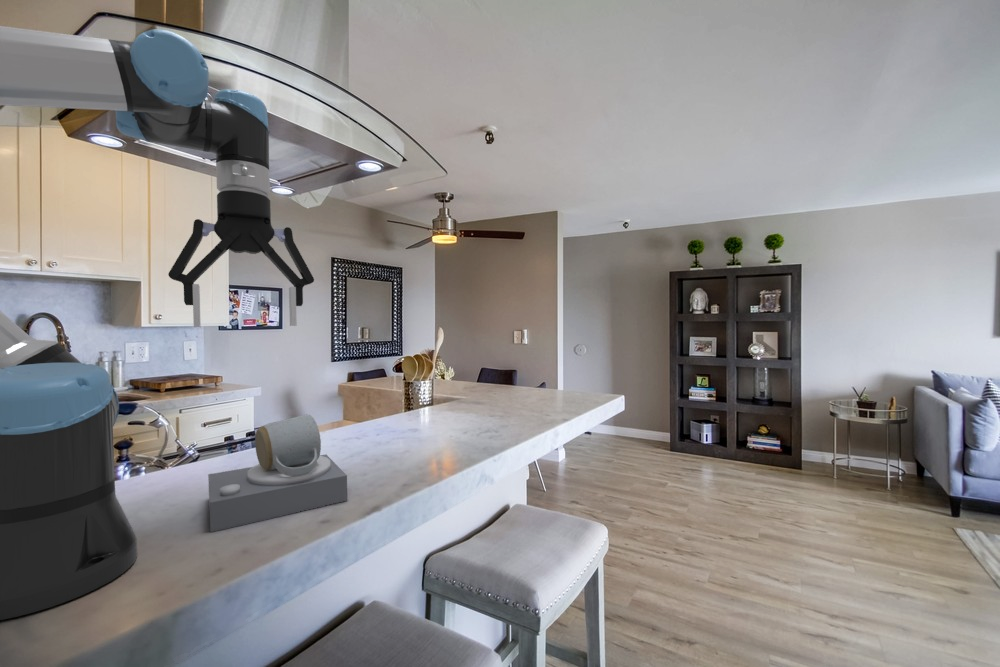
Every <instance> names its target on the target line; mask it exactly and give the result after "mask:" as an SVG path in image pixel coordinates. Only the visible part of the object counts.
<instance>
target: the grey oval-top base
mask: <svg viewBox="0 0 1000 667" xmlns="http://www.w3.org/2000/svg"><path fill="white" fill-rule="evenodd" d="M309 463H310V462H309ZM309 463H305V464H300V465H295V466H289V467H293V468H296V467H302V466H306V465H308V464H309ZM207 476H208V477H207V478H208V500H209V501H208V502H209V503H208V506H209V525H210V529H209V530H210V533H213V532H218V531H223V530H226V529H230V528H235V527H240V526H244V525H247V524H252V523H257V522H261V521H262V522H263V521H266V520H269V519H274V518H279V517H283V516H287V515H288V516H289V515H292V514H297V513H300V511H301V512H305V511H304V510H306V511H310V510H313V508H314V509H318V508H317V507H319V508H322V507H321V506H323V507H326V506H325V505H327V506H330V505H329V504H332V505H334V504H333V503H336V504H340V503H339V502H341V503H344V502H343V501H345V502H348V501H347V500H349V498H348V475H347V474H346V473H345V471H343V470H342V469H341V468H340V467H339V466H338V465H337V464H336V463H335V462H334V461H333V459H331V457H330V456H328V455H327V453H326V454H325V453H324V454H320V456H319V458H318V460H317V463H316V466H315V468H314V469H313V470H312V471H311V472H309V473H307V474H304V475H301V476H287V475H284V474H282V473H281V472H279V471H278V470H265V469H263V468H262V467H261V465H260V464H259V463H258V464H256V465H253V466H251V467H244V468H239V469H234V470H233V469H232V470H227V471H221V472H215V473H209V474H207ZM309 509H310V510H309ZM296 512H297V513H296Z"/></svg>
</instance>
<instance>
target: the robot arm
mask: <svg viewBox="0 0 1000 667" xmlns="http://www.w3.org/2000/svg"><path fill="white" fill-rule="evenodd" d="M209 73H210V72H209V67H208V64H207V62H206V60H205V58H204V57H203V55H202V54H201V52H200V51H199V50H198V48H197V47H196V46H195V45H194V44H193V43H192V42H190V40H188V39H186V38H185V37H183V36H182V35H180V34H178V33H176V32H173V31H171V30H167V29H162V28H161V29H160V28H155V29H150V30H146V31H144V32H142V33H140V34H139V35H137V37H135V39H134V40H133V41H127V40H116V39H110V38H102V37H101V38H100V37H99V38H98V37H91V36H85V35H76V34H68V33H67V34H66V33H60V32H53V31H46V30H45V31H44V30H37V29H36V30H35V29H28V28H27V29H26V28H20V27H19V28H18V27H13V26H3V25H0V106H8V107H28V108H29V107H32V108H33V107H34V108H54V109H73V110H74V109H77V110H78V109H79V110H97V111H98V110H99V111H100V110H101V111H115V125H116V129H117V130H118V131H119V133H120V134H122V135H123V136H126V137H130V138H135V139H138V140H141V141H144V142H147V143H156V144H162V145H168V146H173V147H179V148H184V149H189V150H196V151H199V152H200V151H201V152H206V153H212V154H215V161H216V162H215V168H216V173H215V174H216V189H217V190H218V191H219V192H218V193H217V194H216V209H217V220H216V222H215V223H211V222H205V221H203V220H202V219H198V218H197V219H195V220H193V225H192V226H193V227H192V233H191V235H190V237H189V238H188V240H187V241H186V244H185V245H184V247H183V248H182V249H181V250H182V251H181V252H180V253H179V255H178V257H177V258H176V260H175V262H173V265H172V267H171V268H170V270H169V271H168V275H167V276H168V277H169V278H170V279H171V280H173V281H177V282H179V283H182V285H183V302H184V304H185V305H186V306H192V308H193V309H192V312H193V328H201V327H202V326H201V294H200V291H201V289H200V285H199V283H198V284H197V283H195V282H196V281H197V280H198V279H199V278H200V277H201V276H202V275H203V274H205V273H206V271H207V270H208V269H210V267H212V265H214V264H215V263H216V262H217V260H219V258H221V257H222V256H223V255H224V254H225V253H226V252H227V251H231V252H233V253H234V254H241V253H247V254H250V255H256V254H260V253H262V254H263V255H264V256H265V257H267V259H268V260H269V261H270V262H271V263H272V264H273V265H274V266H275V267H276V268H277V269H278V271H279V272H281V274H282V275H283V276H284V277H285V278H286V280H288V281H289V282H290V283H291V284H292V285H293V286H289V287H288V302H289V303H288V304H289V306H288V307H289V326H290V327H292V326H294V327H295V326H297V323H298V322H297V307H302V306H303V304H304V290H303V289H304V287H305V286H308V285H310V284H312V283H314V281H315V278H314V276H313V274H312V272H311V271H310V268H309V266H308V265H307V263H306V262H305V259H304V258H303V256H302V254H301V252H300V251H299V249H298V247H297V245H296V243H295V241H294V237H293V230H292V227H291V228H290V227H287V226H286V227H285V228H274V227H273V225H272V219H271V218H272V217H271V215H272V214H271V200H270V199H269V196H270V195H271V184H270V183H271V182H270V181H271V180H270V178H271V177H270V141H269V140H270V138H269V137H270V133H271V132H270V128H269V118H268V116H269V115H268V110H267V106H266V105H265V103H264V102H263V101H262V100H261V99H260V98H258V97H257V96H255V95H254V94H252V93H250V92H247V91H243V90H240V89H239V90H238V89H237V90H233V89H230V88H225V89H221V90H219V91H217V92H216V93H215V94H214V98H213V100H210V99H209V100H208V99H206V98H208V94H209V83H210V82H209V81H210V80H209V78H210V74H209ZM212 232H214V233H215V234H216V235H217V237H218V238H219V239H220V241H219V242H218V243H217V244H216V245H215V246H214V247H213V249H212V250H210V252H208V253H207V254H206V255H205V256H203V258H202V259H201V260H200V261H199V262H198V263H197V264H196V265H195V266H194V267H193V268H192V269H191V270H190V271H188V273H187V274H185V273H183V272H184V271H185V269H186V268H187V266H188V264H189V263H190V261H191V259H192V258H193V256H194V255H195V252H196V251H197V249H198V247H199V246H200V244H201V242H202V241H203V237H208V236H209V235H210V233H212ZM274 237H276V238H278V241H279V242H281V243H283V244H284V246H285V247H284V248H285V249H286V250H287V252H288V254H289V256H290V258H291V260H292V261H293V264H294V265H295V267H296V269H297V271H298V272H299V275H300V276H301V277H302V278H300V277H299V276H298V275H297V274H296V272H295V271H294V270H292V268H291V267H290V266H289V265H288V263H286V262H285V261H284V259H283V257H281V256H280V255H279V254H278V252H277V251H275V249H274V248H273V246H272V245H271V244H270V242H271V241H272V239H273V238H274ZM118 396H119V395H118V394H117V392H116V389H115V388H114V386H113V384H111V377H110V374H109V372H108V371H107V369H105V368H103V367H102V366H100V365H97V364H91V363H89V364H88V363H87V364H86V363H83V362H82V361H80V360H79V359H78V358H77V357H75V356H74V355H73V354H72V353H71V352H69V350H67V348H65V347H64V346H63V345H62V344H60V343H59V342H58V341H56V340H45V339H36V338H33V337H32V336H30V335H29V334H28V333H27V332H26V331H24V330H23V329H22V328H21V327H20V326H18V325H17V323H15V322H14V321H13V320H12V319H10V318H9V317H8V316H7V315H6V314H5V313H4V312H2V311H1V310H0V621H3V620H9V619H12V618H17V617H21V616H25V615H30V614H33V613H37V612H40V611H42V610H47V609H49V608H53V607H56V606H58V605H61V604H64V603H67V602H68V601H71V600H75V599H77V598H79V597H82V596H83V595H86V594H89V593H90V592H92V591H95V590H96V589H99V588H100V587H101V588H102V586H105V585H107V584H108V583H110V582H112V581H113V580H115V579H116V578H118V577H120V576H121V575H122V574H124V573H125V572H126V571H127V570H128V569H129V568H130V567H131V566H132V565H133V564H134V563H135V562H136V560H137V557H138V545H137V536H136V533H135V532H134V530H133V527H132V526H131V523H130V522H129V519H128V517H127V515H126V514H125V511H124V510H123V508H122V505H121V504H120V502H119V500H118V497H117V495H116V482H115V481H116V480H115V479H116V478H115V477H116V476H115V473H116V472H115V454H114V427H115V424H116V422H117V419H118V417H119V410H120V403H119V397H118Z"/></svg>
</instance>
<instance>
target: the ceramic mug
mask: <svg viewBox="0 0 1000 667" xmlns="http://www.w3.org/2000/svg"><path fill="white" fill-rule="evenodd" d="M254 440H255V441H254V443H255V453H256V456H257V461H258V464H260V465H261V467H262V468H263V469H265V470H278V471H279V472H281V473H282V474H284V475H287V476H301V475H304V474H307V473H309V472H311V471H312V470H313V469H314V468H315V466H316V463H317V460H318V458H319V456H320V455H321V450H322V446H321V445H322V439H321V434H320V430H319V427H318V424H317V421H316V420H315V418H314V417H313V416H312V415H311V414H309V413H308V414H304V415H299V416H295V417H291V418H290V417H289V418H286V419H283V420H282V419H281V420H277V421H273V422H268V423H267V424H266V423H265V425H261V426H260V427H258V429H257V430H256V433H255V438H254ZM309 462H310V463H309ZM305 463H309V464H308V465H306V466H302V467H296V468H293V467H289V466H295V465H300V464H305Z"/></svg>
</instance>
